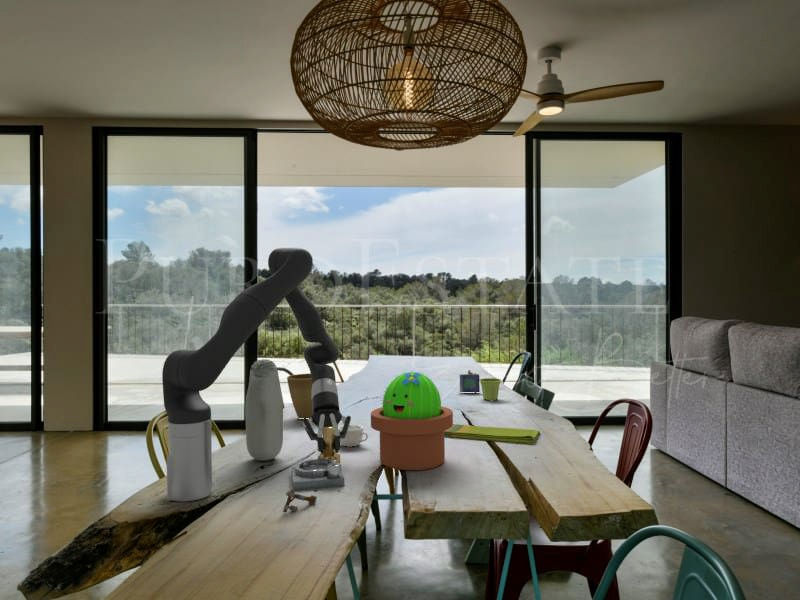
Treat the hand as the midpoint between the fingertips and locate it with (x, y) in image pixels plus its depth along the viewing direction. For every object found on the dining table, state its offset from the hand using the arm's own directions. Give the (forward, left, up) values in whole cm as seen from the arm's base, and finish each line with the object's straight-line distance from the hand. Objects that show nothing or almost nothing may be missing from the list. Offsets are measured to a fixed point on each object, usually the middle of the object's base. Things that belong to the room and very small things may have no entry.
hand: (329, 451), depth 145 cm
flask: (+74, +95, -4) cm, 120 cm away
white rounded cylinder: (-17, +11, -4) cm, 21 cm away
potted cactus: (+22, -1, -4) cm, 23 cm away
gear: (0, +2, -4) cm, 4 cm away
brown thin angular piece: (-9, -28, -4) cm, 29 cm away
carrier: (-4, -10, -4) cm, 11 cm away
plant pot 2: (+77, +77, -4) cm, 109 cm away
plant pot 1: (-3, +62, -4) cm, 62 cm away
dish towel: (+51, +22, -5) cm, 56 cm away
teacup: (+9, +19, -4) cm, 21 cm away
